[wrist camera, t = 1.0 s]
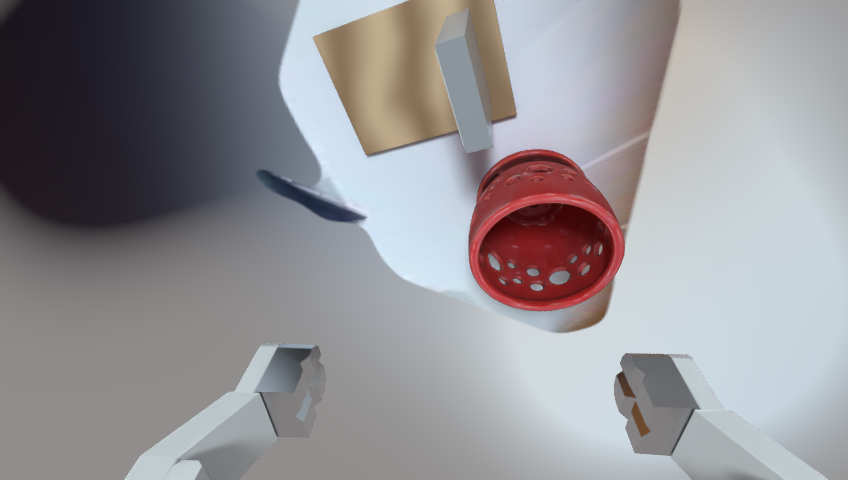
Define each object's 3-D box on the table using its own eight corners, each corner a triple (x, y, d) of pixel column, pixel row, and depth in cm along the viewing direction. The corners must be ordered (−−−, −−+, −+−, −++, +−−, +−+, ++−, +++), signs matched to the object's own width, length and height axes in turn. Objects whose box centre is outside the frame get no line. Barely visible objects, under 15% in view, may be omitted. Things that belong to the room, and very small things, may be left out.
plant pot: (590, 233, 47) (616, 312, 37) (476, 239, 49) (474, 314, 40) (602, 126, 39) (639, 191, 30) (465, 139, 41) (459, 204, 32)
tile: (469, 7, 34) (464, 34, 26) (491, 100, 38) (492, 147, 30) (444, 16, 34) (432, 45, 26) (469, 106, 39) (464, 154, 31)
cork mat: (487, -30, 32) (487, -29, 32) (516, 112, 39) (516, 114, 39) (314, 35, 37) (312, 37, 36) (367, 152, 44) (365, 155, 43)
